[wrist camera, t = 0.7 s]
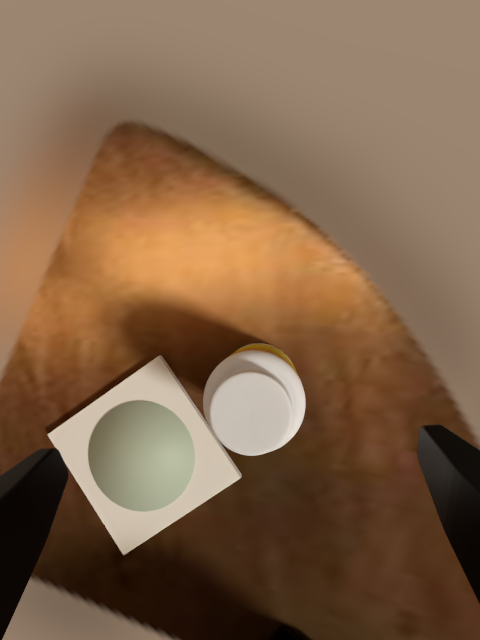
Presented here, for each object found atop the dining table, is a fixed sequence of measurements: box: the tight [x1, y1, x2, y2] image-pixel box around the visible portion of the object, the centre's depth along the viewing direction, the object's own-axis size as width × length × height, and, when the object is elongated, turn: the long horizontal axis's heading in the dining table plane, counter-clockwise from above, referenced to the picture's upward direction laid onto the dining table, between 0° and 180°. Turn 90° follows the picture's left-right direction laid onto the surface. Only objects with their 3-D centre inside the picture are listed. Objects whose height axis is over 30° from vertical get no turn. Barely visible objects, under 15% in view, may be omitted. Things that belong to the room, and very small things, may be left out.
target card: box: [47, 355, 242, 555], centre depth 27 cm, size 11×11×1 cm
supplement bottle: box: [203, 343, 305, 456], centre depth 21 cm, size 6×6×10 cm
